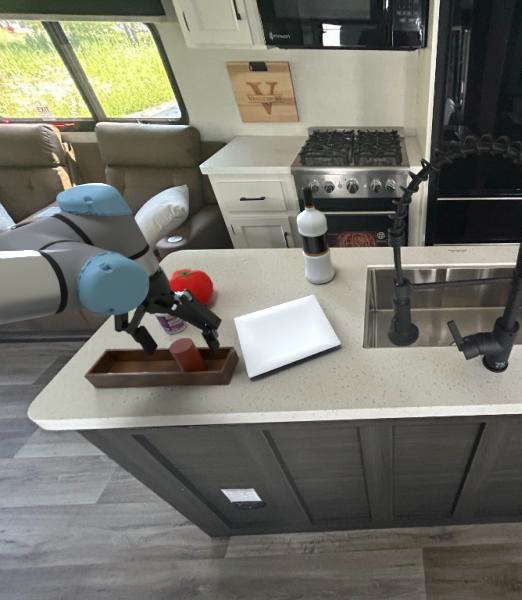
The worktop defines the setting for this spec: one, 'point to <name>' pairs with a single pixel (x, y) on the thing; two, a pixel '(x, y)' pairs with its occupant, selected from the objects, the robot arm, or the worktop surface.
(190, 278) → the tomato
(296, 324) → the plate
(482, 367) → the worktop surface
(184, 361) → the spice tin
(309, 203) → the vodka
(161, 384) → the wooden tray
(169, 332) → the pill bottle
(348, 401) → the worktop surface
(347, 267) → the worktop surface
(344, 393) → the worktop surface
